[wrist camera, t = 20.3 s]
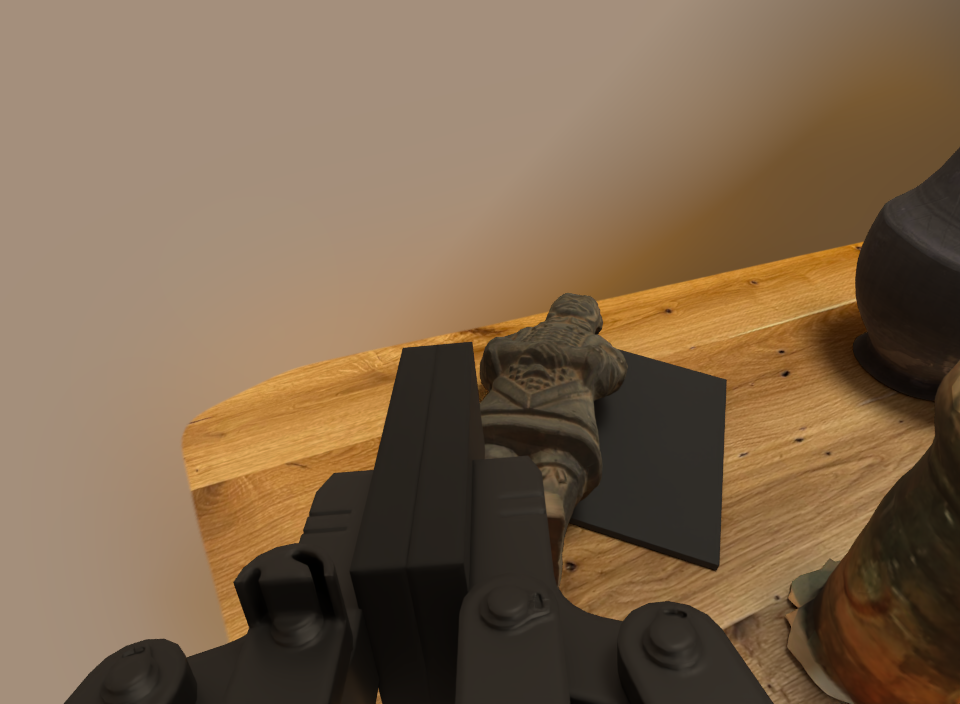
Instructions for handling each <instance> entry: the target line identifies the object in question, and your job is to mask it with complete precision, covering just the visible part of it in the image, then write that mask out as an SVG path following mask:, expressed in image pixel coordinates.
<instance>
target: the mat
mask: <svg viewBox="0 0 960 704" xmlns="http://www.w3.org/2000/svg"><path fill="white" fill-rule="evenodd" d="M617 350H619V349H617ZM619 351H620V352H621V353H622V354H623V356H624V358H625V360H626V363H627V365H628V369H627V373H626V377H625V379H624V382H623V384H622V385H621V387H620V389H619V390H618V391H616V392H615V393H613V394H611V395H610V396H605V397H604V398H599V399H597V400H595V401H594V413H595V419H596V425H597V429H598V435H599V447H600V452H601V457H602V478H601V481H600V483H599V485H598V486H597V487H596V488H595V489H594V490H593V491H592V492H591V493H590V494H589V495H588V496H587V497H586V498H585V499H583V500H581V501H580V502H579V503H578V504H577V506H576V507H575V508H574V511H573V514H572V516H571V519H570V521H569V523H571V524H574V525H577V526H580V527H583V528H587V529H590V530H593V531H596V532H599V533H602V534H605V535H608V536H611V537H614V538H617V539H621V540H624V541H627V542H630V543H633V544H636V545H639V546H642V547H645V548H648V549H651V550H654V551H658V552H661V553H664V554H667V555H670V556H673V557H676V558H679V559H682V560H685V561H688V562H692V563H695V564H698V565H701V566H704V567H707V568H710V569H713V570H717V569H718V567H719V560H720V534H721V509H722V483H723V457H724V432H725V406H726V381H727V380H726V379H722V378H718V377H715V376H711V375H708V374H704V373H701V372H697V371H693V370H690V369H686V368H683V367H679V366H676V365H672V364H669V363H665V362H661V361H658V360H654V359H651V358H647V357H644V356H640V355H637V354H633V353H629V352H626V351H622V350H619Z"/></svg>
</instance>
